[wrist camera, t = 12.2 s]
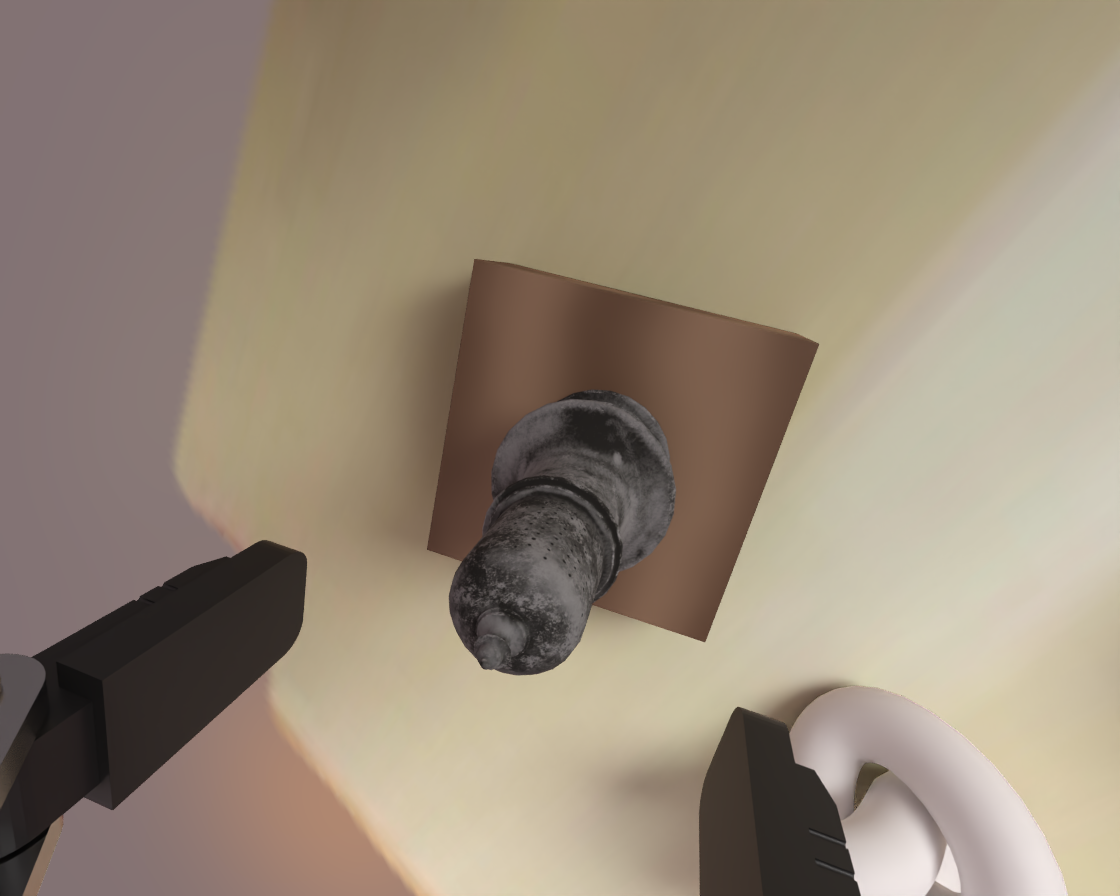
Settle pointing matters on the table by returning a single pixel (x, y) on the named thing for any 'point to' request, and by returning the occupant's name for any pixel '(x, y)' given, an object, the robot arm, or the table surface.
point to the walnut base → (651, 380)
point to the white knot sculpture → (921, 802)
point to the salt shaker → (561, 527)
